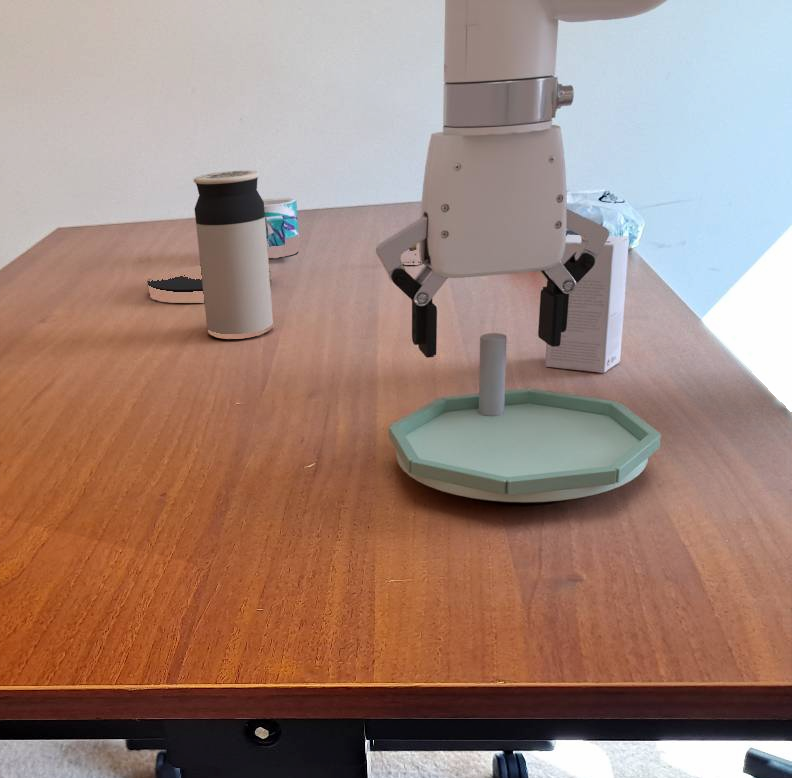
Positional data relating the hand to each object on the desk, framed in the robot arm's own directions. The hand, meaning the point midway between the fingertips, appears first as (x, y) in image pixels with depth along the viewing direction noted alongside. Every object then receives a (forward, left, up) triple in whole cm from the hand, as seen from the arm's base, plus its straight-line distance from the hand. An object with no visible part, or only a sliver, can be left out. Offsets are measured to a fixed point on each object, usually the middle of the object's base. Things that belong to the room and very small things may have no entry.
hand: (488, 347), depth 76 cm
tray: (0, +7, -6) cm, 9 cm away
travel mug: (+18, -43, -8) cm, 47 cm away
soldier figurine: (-10, -73, -8) cm, 74 cm away
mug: (+9, -90, -8) cm, 91 cm away
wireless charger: (+20, -70, -8) cm, 73 cm away
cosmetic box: (-14, -17, -8) cm, 24 cm away
